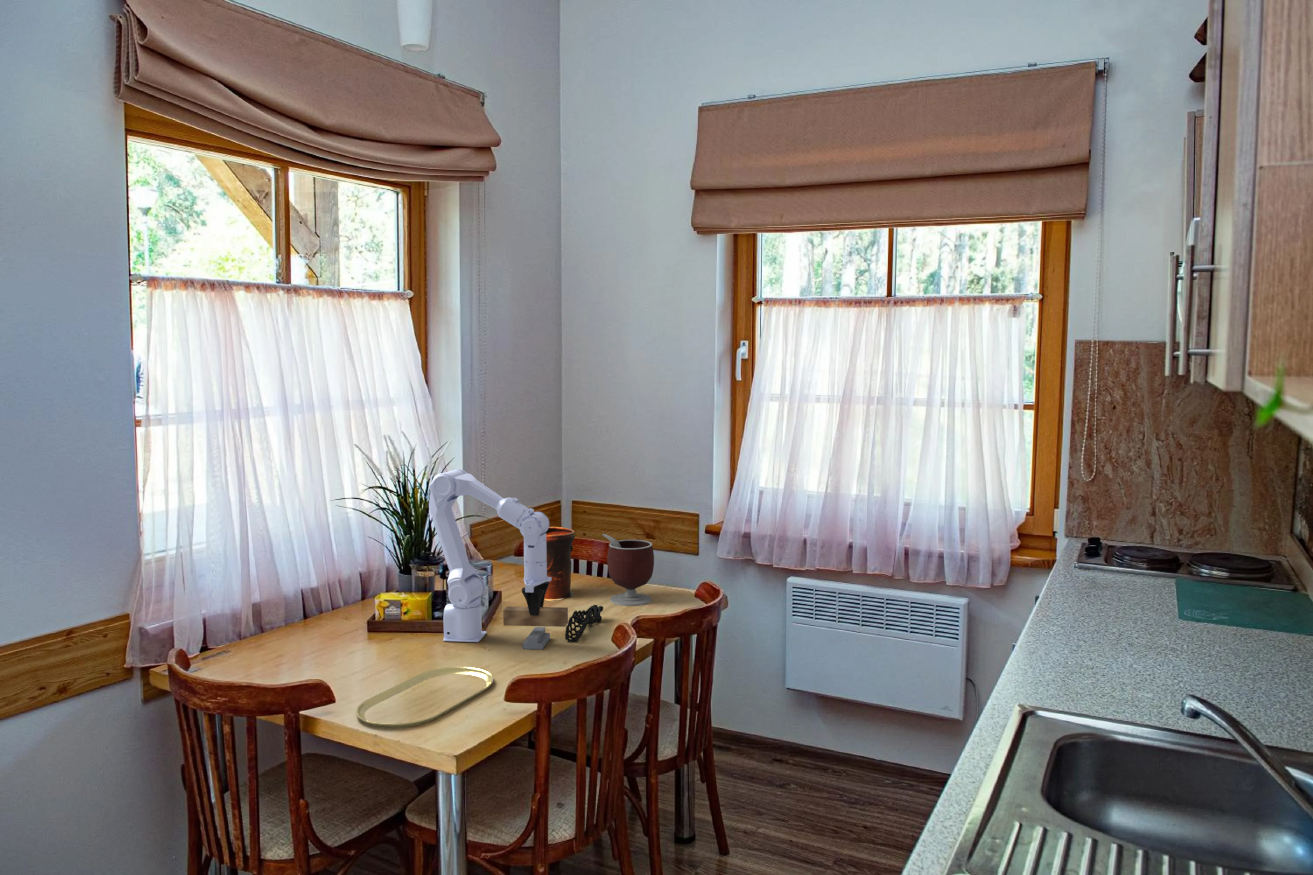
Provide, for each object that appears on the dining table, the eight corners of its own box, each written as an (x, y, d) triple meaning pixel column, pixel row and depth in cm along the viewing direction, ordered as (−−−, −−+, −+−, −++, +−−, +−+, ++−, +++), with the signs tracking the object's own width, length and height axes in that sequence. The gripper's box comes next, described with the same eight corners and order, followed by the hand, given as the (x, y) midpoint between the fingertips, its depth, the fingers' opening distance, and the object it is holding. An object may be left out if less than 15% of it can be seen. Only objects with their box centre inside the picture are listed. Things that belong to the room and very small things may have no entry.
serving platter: (336, 721, 196) (336, 714, 196) (443, 668, 228) (443, 662, 227) (409, 737, 188) (408, 730, 188) (509, 680, 220) (509, 673, 219)
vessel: (523, 590, 297) (524, 526, 295) (568, 587, 301) (569, 525, 299) (531, 602, 283) (532, 536, 281) (578, 599, 287) (579, 534, 285)
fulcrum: (522, 648, 241) (522, 637, 240) (531, 637, 250) (530, 626, 249) (542, 649, 240) (542, 637, 240) (549, 638, 249) (549, 627, 249)
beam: (503, 625, 243) (503, 610, 243) (507, 621, 247) (506, 606, 246) (565, 626, 242) (564, 611, 241) (568, 622, 245) (567, 607, 245)
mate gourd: (657, 594, 291) (657, 530, 289) (650, 607, 278) (650, 539, 276) (607, 593, 293) (607, 529, 291) (598, 605, 280) (597, 538, 278)
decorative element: (580, 644, 245) (580, 622, 244) (561, 642, 246) (561, 620, 246) (605, 619, 267) (606, 599, 266) (588, 618, 268) (588, 597, 267)
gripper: (544, 567, 235) (545, 621, 236) (556, 554, 249) (557, 605, 251) (516, 567, 236) (517, 620, 237) (530, 554, 250) (531, 604, 251)
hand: (536, 612), depth 244 cm, fingers closed on beam, 3 cm apart
